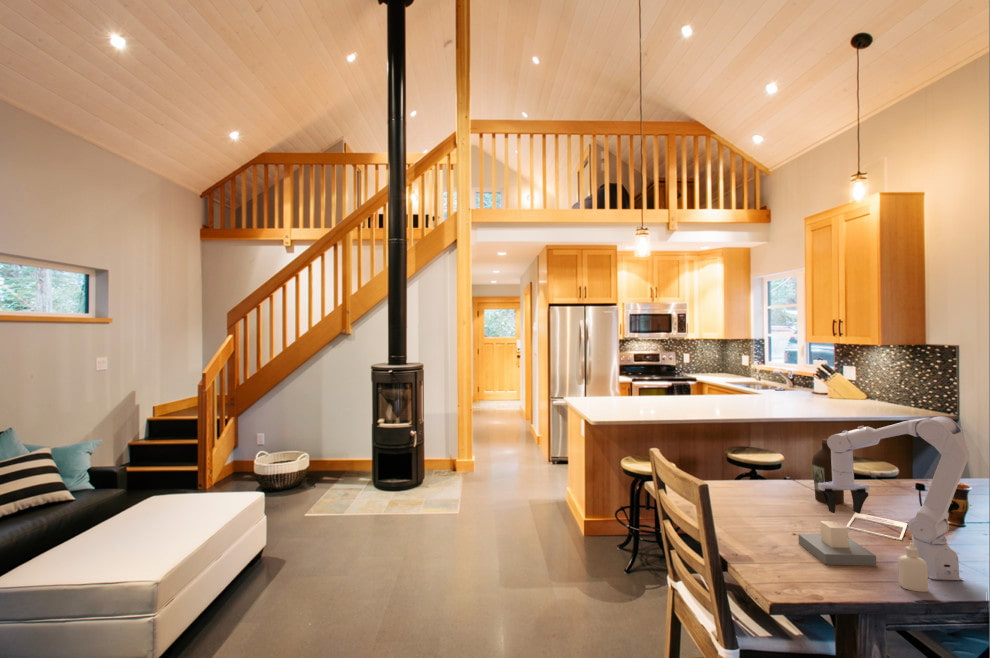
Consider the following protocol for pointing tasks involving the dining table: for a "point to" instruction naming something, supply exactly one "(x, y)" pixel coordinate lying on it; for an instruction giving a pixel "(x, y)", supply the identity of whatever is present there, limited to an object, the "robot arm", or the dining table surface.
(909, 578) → the eye dropper bottle
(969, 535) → the dining table surface
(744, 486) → the dining table surface
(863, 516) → the photo frame
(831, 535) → the cream block
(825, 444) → the olive oil
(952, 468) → the robot arm
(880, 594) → the dining table surface
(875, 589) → the dining table surface
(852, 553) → the base plinth
